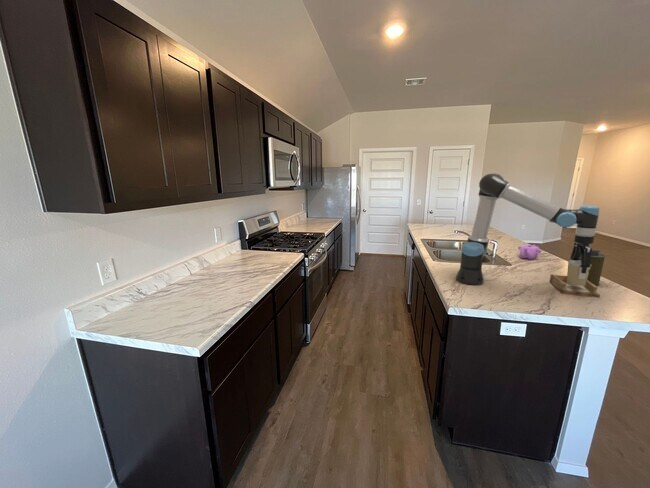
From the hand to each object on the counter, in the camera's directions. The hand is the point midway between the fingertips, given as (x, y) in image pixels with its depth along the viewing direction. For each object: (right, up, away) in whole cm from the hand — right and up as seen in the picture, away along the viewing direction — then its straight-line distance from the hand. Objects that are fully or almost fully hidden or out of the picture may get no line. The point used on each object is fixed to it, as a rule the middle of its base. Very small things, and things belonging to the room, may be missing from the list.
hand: (577, 275), depth 151 cm
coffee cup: (0, -5, +1) cm, 5 cm away
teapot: (+20, +6, +64) cm, 67 cm away
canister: (+18, -6, +13) cm, 23 cm away
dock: (+1, -8, +4) cm, 9 cm away
